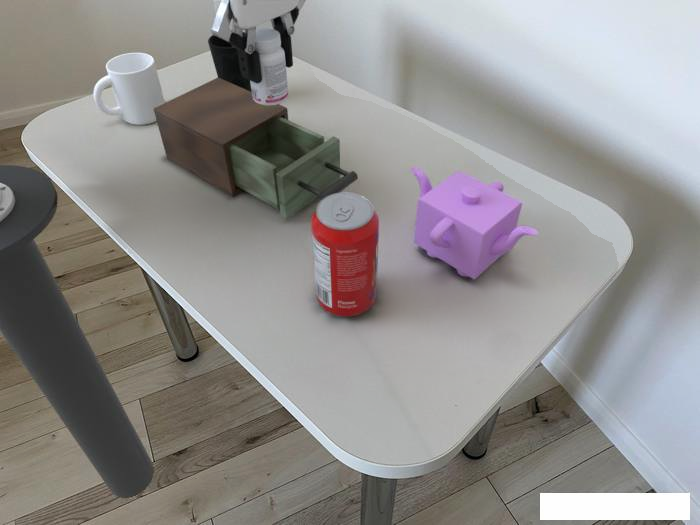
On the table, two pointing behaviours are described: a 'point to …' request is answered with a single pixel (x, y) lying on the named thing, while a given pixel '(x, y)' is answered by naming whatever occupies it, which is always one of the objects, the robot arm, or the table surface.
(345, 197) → the soda can
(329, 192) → the drawer
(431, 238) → the teapot
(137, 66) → the mug
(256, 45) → the pill bottle
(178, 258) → the table surface
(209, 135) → the cabinet
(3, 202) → the robot arm
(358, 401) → the table surface
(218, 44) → the cup
